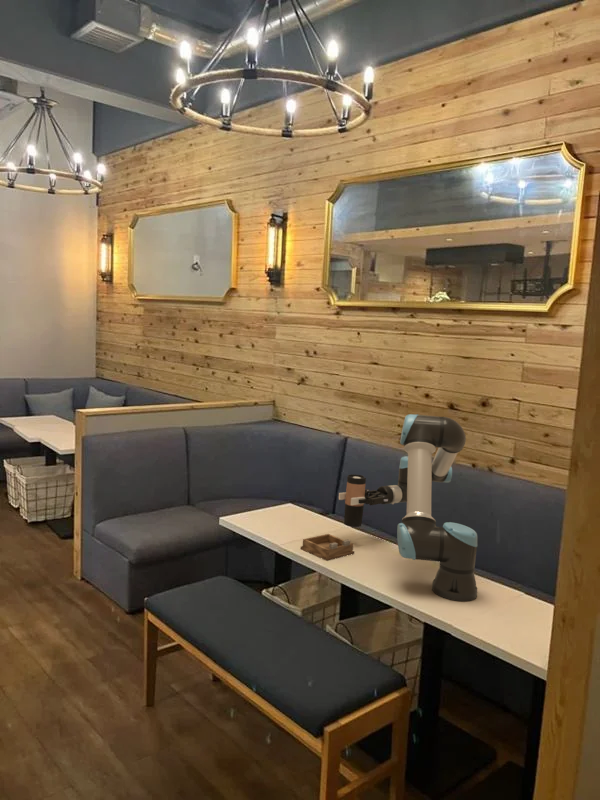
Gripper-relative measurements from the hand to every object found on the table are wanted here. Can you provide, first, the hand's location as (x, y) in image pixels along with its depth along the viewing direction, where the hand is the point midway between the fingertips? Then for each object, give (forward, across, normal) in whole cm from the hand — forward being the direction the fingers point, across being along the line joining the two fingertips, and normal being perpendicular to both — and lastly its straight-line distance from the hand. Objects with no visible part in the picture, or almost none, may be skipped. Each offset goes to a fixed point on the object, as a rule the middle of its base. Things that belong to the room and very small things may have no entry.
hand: (345, 499), depth 253 cm
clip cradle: (+9, -3, -20) cm, 22 cm away
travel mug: (-5, 0, -11) cm, 12 cm away
